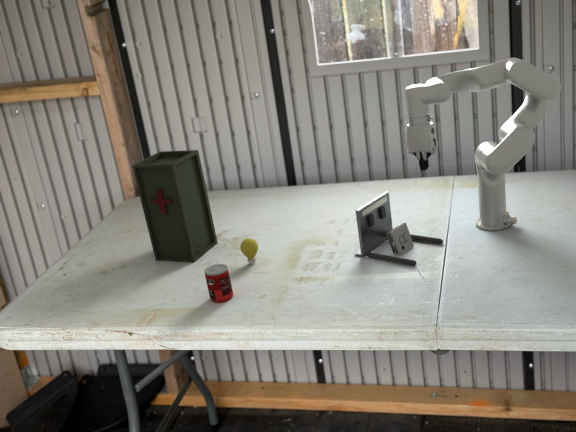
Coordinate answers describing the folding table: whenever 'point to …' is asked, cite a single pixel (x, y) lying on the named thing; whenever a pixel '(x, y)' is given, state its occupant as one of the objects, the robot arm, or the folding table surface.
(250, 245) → the light bulb
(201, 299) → the folding table surface
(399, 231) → the electrical switch
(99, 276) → the folding table surface
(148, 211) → the first aid box
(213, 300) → the canned food
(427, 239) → the cable far
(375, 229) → the panel
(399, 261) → the cable near
